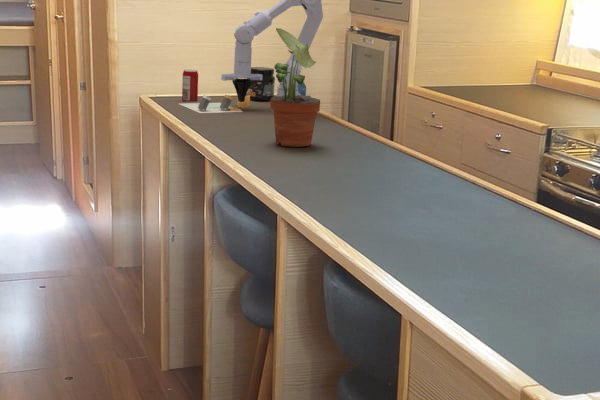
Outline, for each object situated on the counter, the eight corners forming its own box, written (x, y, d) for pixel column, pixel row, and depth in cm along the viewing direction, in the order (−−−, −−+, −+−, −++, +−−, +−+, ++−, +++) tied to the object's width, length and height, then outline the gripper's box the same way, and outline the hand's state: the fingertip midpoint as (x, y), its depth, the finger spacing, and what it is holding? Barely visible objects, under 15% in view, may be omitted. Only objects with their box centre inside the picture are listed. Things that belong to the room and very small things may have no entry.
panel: (243, 115, 302) (243, 110, 302) (199, 116, 295) (199, 111, 294) (219, 106, 319) (220, 101, 319) (177, 107, 311) (178, 102, 311)
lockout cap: (251, 110, 313) (252, 93, 312) (240, 111, 311) (240, 93, 309) (246, 108, 317) (246, 91, 315) (234, 109, 315) (235, 92, 313)
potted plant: (257, 146, 252) (263, 20, 243) (279, 138, 265) (285, 18, 257) (308, 153, 246) (316, 24, 237) (328, 144, 260) (336, 23, 251)
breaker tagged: (227, 111, 301) (233, 97, 301) (222, 109, 300) (229, 95, 300) (222, 110, 304) (229, 96, 304) (218, 108, 303) (225, 94, 303)
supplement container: (242, 97, 342) (243, 66, 339) (267, 97, 347) (268, 66, 344) (253, 102, 333) (254, 70, 330) (278, 101, 337) (280, 70, 334)
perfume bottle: (283, 102, 335) (284, 71, 332) (291, 101, 341) (292, 69, 338) (297, 104, 333) (299, 72, 330) (305, 103, 338) (307, 71, 335)
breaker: (205, 112, 298) (211, 98, 297) (201, 110, 297) (207, 96, 296) (201, 110, 301) (207, 96, 300) (196, 108, 300) (203, 94, 300)
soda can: (198, 102, 325) (199, 69, 322) (195, 104, 320) (196, 70, 317) (183, 101, 326) (184, 68, 323) (180, 103, 320) (181, 69, 317)
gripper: (256, 60, 308) (255, 99, 312) (218, 60, 301) (217, 99, 305) (265, 62, 302) (264, 102, 306) (226, 62, 295) (225, 103, 299)
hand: (241, 101), depth 305 cm, fingers closed
